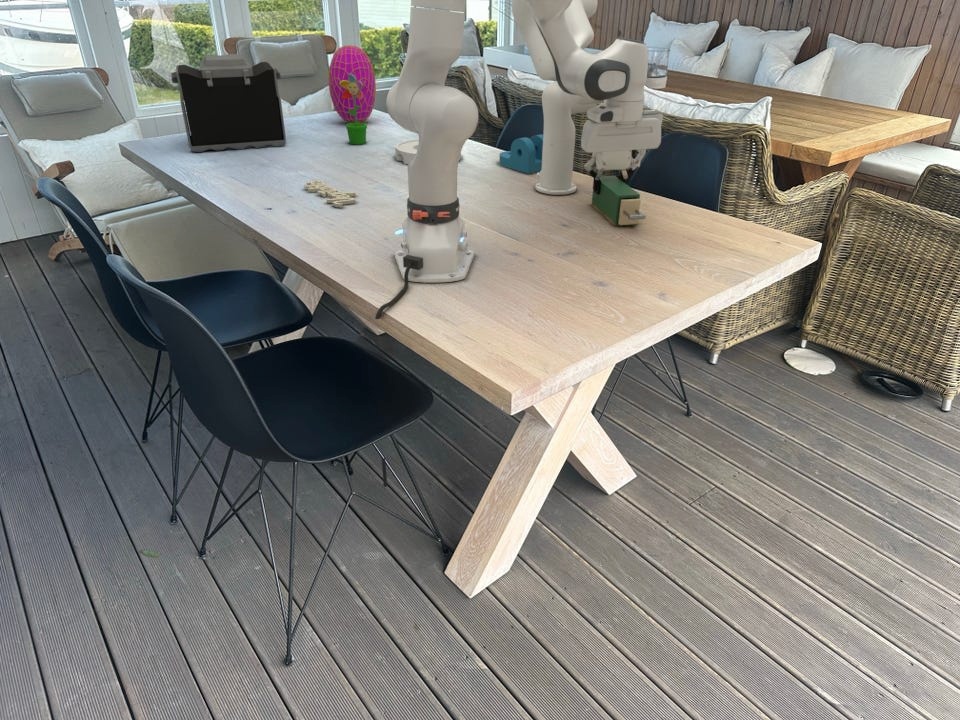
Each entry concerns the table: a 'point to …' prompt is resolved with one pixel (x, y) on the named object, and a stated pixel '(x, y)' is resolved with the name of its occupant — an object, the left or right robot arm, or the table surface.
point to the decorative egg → (361, 68)
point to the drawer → (629, 211)
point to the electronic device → (230, 103)
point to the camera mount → (524, 155)
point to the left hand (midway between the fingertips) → (618, 167)
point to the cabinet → (612, 197)
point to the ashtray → (407, 150)
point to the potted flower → (354, 129)
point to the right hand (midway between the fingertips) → (608, 191)
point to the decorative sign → (330, 193)
